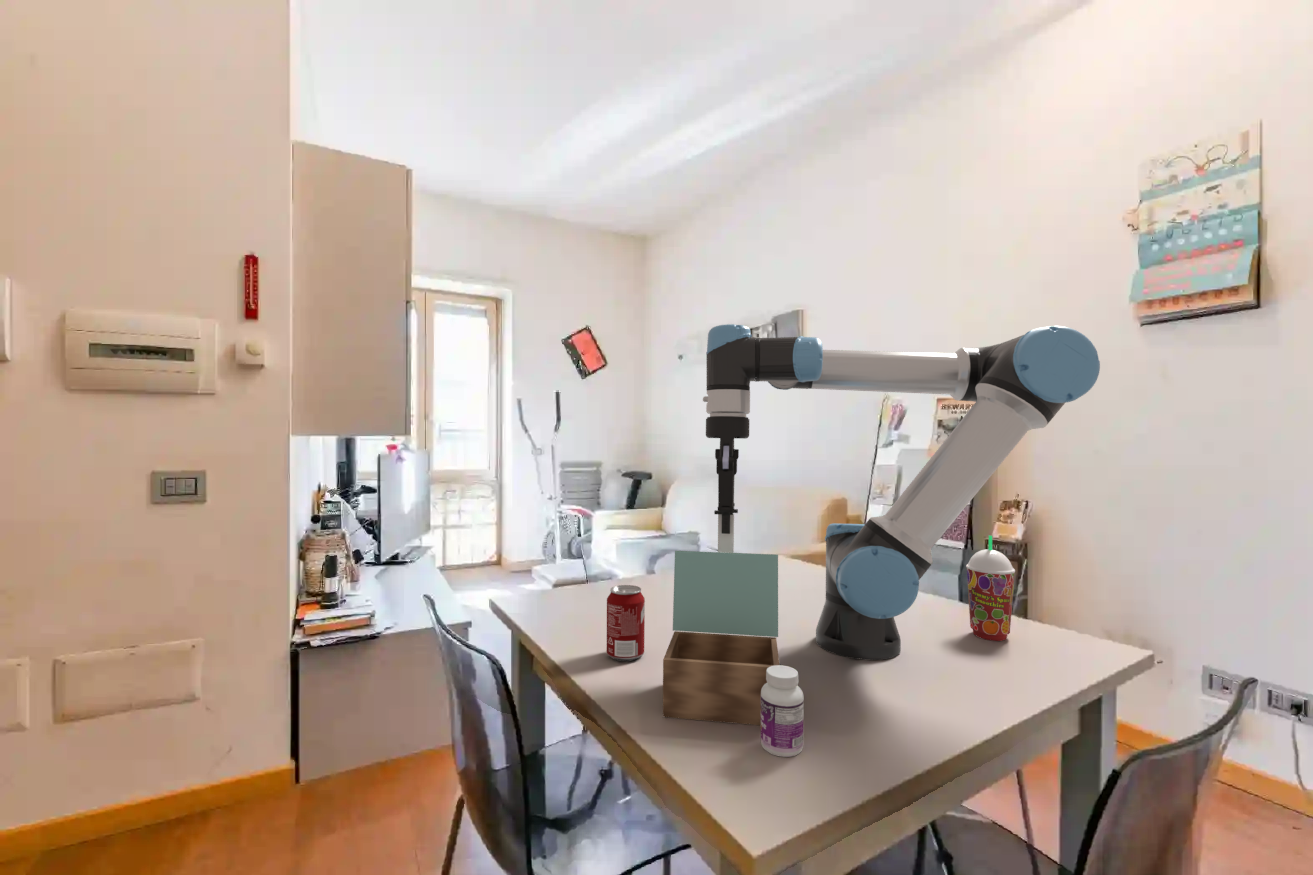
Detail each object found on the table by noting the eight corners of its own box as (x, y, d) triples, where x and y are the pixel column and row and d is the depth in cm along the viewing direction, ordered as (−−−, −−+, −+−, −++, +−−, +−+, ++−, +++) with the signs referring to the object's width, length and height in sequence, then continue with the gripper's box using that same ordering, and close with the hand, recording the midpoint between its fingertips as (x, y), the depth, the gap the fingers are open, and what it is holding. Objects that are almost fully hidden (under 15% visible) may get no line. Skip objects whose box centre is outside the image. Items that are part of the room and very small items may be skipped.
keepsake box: (775, 688, 90) (776, 637, 90) (779, 726, 78) (780, 667, 78) (674, 681, 92) (674, 631, 92) (662, 716, 80) (663, 659, 80)
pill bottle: (755, 736, 75) (755, 662, 75) (795, 734, 76) (795, 661, 76) (766, 759, 70) (767, 680, 70) (809, 757, 70) (809, 678, 70)
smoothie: (968, 640, 112) (969, 537, 112) (963, 627, 120) (964, 531, 120) (1018, 646, 109) (1019, 540, 109) (1010, 632, 116) (1010, 533, 116)
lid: (778, 636, 89) (777, 635, 91) (778, 554, 92) (777, 554, 93) (672, 630, 92) (673, 629, 94) (674, 550, 94) (676, 550, 96)
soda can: (639, 664, 99) (639, 595, 99) (601, 661, 100) (602, 592, 100) (647, 650, 105) (648, 585, 105) (612, 647, 107) (612, 583, 107)
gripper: (708, 416, 107) (706, 543, 107) (702, 414, 94) (700, 558, 94) (749, 417, 106) (747, 545, 106) (749, 414, 93) (747, 560, 93)
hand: (725, 551), depth 100 cm, fingers closed
